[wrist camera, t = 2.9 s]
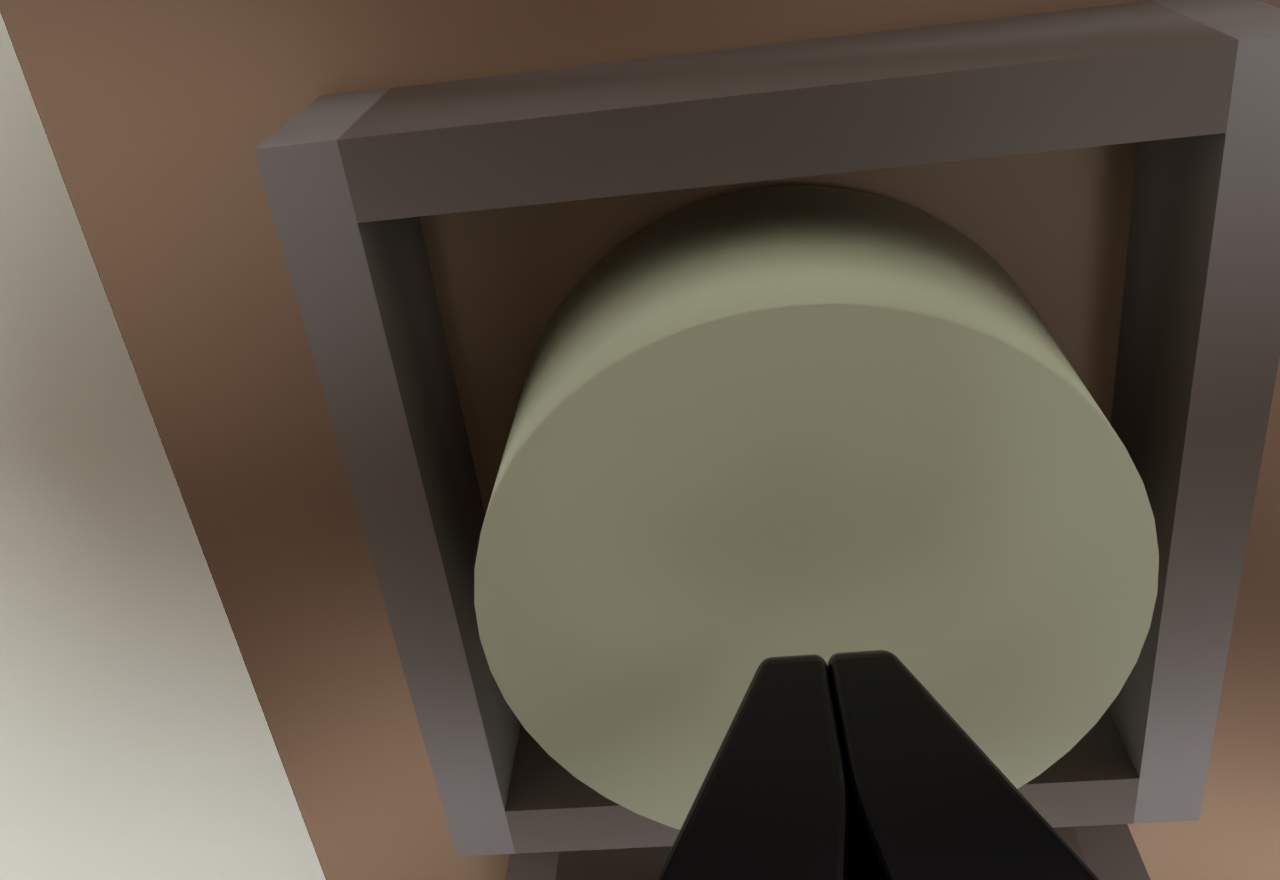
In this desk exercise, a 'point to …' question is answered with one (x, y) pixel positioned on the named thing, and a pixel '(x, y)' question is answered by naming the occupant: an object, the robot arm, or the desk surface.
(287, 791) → the desk surface
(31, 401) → the desk surface
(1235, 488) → the button panel
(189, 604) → the desk surface
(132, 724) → the desk surface
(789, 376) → the button green
